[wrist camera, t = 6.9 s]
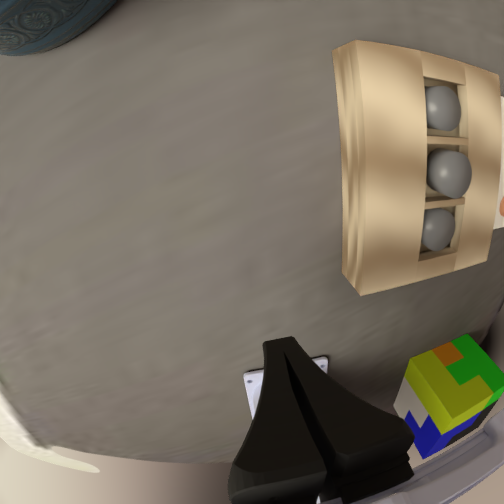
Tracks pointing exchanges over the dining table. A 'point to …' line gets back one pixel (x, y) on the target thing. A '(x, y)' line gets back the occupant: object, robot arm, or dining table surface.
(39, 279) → the dining table surface
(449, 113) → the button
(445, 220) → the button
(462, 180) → the middle button
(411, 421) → the puzzle toy
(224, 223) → the dining table surface
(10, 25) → the canister
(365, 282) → the button board
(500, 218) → the card
